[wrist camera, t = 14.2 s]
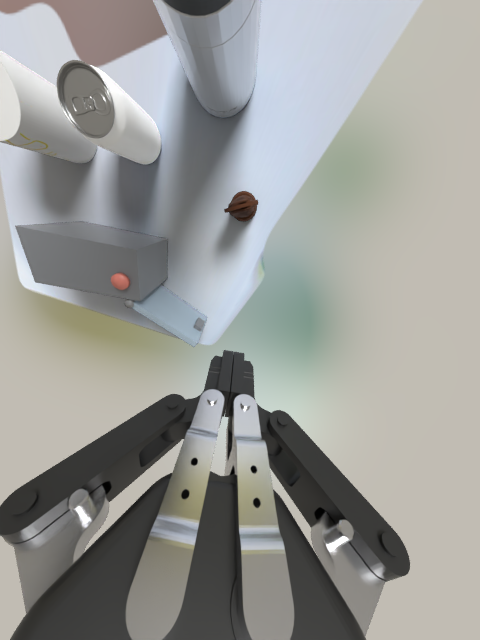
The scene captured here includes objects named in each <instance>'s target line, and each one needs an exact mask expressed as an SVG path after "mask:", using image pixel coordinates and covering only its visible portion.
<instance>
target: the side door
mask: <svg viewBox="0 0 480 640" xmlns="http://www.w3.org/2000/svg"><path fill="white" fill-rule="evenodd" d="M124 304H125V306H126V307H127V308H132V309H134V310H135V311H137V312H139V313H140V314H142V315H143V316H145V317H146V318H148V319H150V320H151V321H153V322H154V323H156V324H158V325H159V326H161V327H162V328H164V329H166V330H167V331H169V332H170V333H172V334H174V335H175V336H177V337H178V338H180V339H182V340H183V341H185V342H186V343H188V344H190V345H191V346H193V347H195V346H196V345H197V344H198V341H199V339H200V336H201V333H202V330H203V328H204V325H205V322H206V320H207V316H205V315H204V314H202V313H201V312H199V311H198V310H197V309H195V308H194V307H192V306H191V305H189V304H188V303H187V302H185V301H184V300H182V299H181V298H179V297H178V296H177V295H175V294H174V293H172V292H171V291H169V290H168V289H167V288H165V287H164V286H162V285H161V284H160V285H159V286H158V287H157V288H155V289H154V290H153V291H152V292H151V293H150V294H148V295H147V296H146V297H145V298H144V299H143V300H141V301H136V300H130V299H127V300H126V301H125V302H124Z"/></svg>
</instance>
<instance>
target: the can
mask: <svg viewBox="0 0 480 640" xmlns="http://www.w3.org/2000/svg"><path fill="white" fill-rule="evenodd" d="M57 94H58V98H59V102H60V105H61V107H62V110H63V112H64V114H65V115H66V117H67V119H68V120H69V121H70V123H71V124H72V125H73V126H74V127H75V128H76V129H77V130H78V131H79V132H80V133H82V135H83V136H84V137H86V138H87V139H88V140H89V141H91V142H92V143H94V144H96V145H98V146H100V147H102V148H104V149H106V150H109V151H111V152H113V153H115V154H118V155H120V156H122V157H125V158H127V159H129V160H132V161H134V162H137V163H139V164H144V165H147V164H151V163H153V162H154V161H155V160H156V159H157V157H158V156H159V153H160V150H161V137H160V133H159V130H158V128H157V126H156V124H155V122H154V121H153V119H152V118H151V117H150V116H149V115H148V114H147V113H146V112H145V111H144V110H143V109H142V108H141V107H140V106H139V105H138V104H137V103H136V102H135V101H134V100H133V99H132V98H131V97H130V96H129V95H128V94H127V93H126V92H125V91H124V90H123V89H121V88H120V87H119V86H118V85H117V84H116V83H115V82H114V81H113V80H112V79H111V78H110V77H109V76H108V75H107V74H105V73H104V72H103V71H101V70H100V69H98V68H97V67H94V66H92V65H88V64H87V63H85V62H82V61H78V60H72V61H69V62H67V63H65V64H64V65H63V66H62V67H61V69H60V71H59V73H58V77H57Z"/></svg>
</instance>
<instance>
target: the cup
mask: <svg viewBox="0 0 480 640" xmlns="http://www.w3.org/2000/svg"><path fill="white" fill-rule="evenodd" d="M0 142H2V143H6V144H9V145H13V146H17V147H20V148H24V149H27V150H31V151H35V152H38V153H42V154H46V155H49V156H53V157H56V158H60V159H64V160H67V161H71V162H75V163H86V162H88V161H90V160H91V159H92V158H93V157H94V155H95V153H96V150H97V145H96V144H94V143H92V142H91V141H89V140H88V139H87V138H86V137H84V136H83V135H82V133H80V132H79V131H78V130H77V129H76V128H75V127H74V126H73V125H72V124H71V123H70V121H69V120H68V119H67V117H66V115H65V114H64V112H63V110H62V107H61V105H60V102H59V98H58V94H57V87H56V86H55V85H53V84H52V83H50V82H49V81H47V80H46V79H44V78H43V77H41V76H39V75H38V74H36V73H35V72H33V71H32V70H30V69H29V68H27V67H26V66H24V65H22V64H21V63H19V62H18V61H16V60H15V59H13V58H12V57H10V56H9V55H7V54H6V53H4V52H2V51H1V50H0Z"/></svg>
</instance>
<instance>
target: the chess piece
mask: <svg viewBox="0 0 480 640" xmlns="http://www.w3.org/2000/svg"><path fill="white" fill-rule="evenodd" d="M257 205H258V201H257V200H255V198H254V196H253V195H252V194H251V193H249V192H246V191H241V192H239V193H237V194H236V195H235V196H234V197H233V199H232V201H231V203H230V204H229V207H228V208H227V209H224V211H225V213H226V212H230V214H231V215H232V216H234V217H235V218H236V219H237V220H239V221H243V222H244V221H248V220H250V219H251V218H253V216H254V215H255V213H256V210H257Z"/></svg>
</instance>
